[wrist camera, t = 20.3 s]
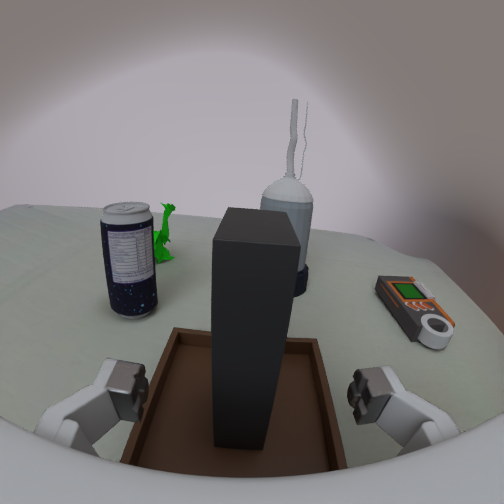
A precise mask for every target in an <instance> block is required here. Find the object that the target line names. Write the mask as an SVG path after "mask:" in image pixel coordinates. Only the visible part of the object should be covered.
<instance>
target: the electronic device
mask: <svg viewBox="0 0 504 504" xmlns="http://www.w3.org/2000/svg"><path fill="white" fill-rule="evenodd" d="M375 290H376V291H377V293H378V294H379V295H380V297H381V298H382V299H383V301H384V302H385V304H386V305H387V307H388V308H389V309H390V311H391V312H392V314H393V315H394V317H395V318H396V320H397V321H398V322H399V324H400V325H401V327H402V328H403V330H404V331H405V333H406V334H407V336H408V337H409V339H410V340H411V341H420V342H422V343H423V344H424V345H426V346H428V347H430V348H433V349H443V348H445V347H446V346H447V344H448V342H449V340H450V339H451V337H452V335H453V332H454V329H453V328H454V326H455V323H454V322H453V321H452V320H451V318H450V317H449V316H448V315H447V314H446V313H445V312H444V310H443V309H442V308H441V307H440V306H439V305H438V304H437V303H436V302H435V296H434V295H433V294H432V293H431V292H430V291H429V290H428V289H427V288H426V287H425V286H424V285H423V284H422V283H421V282H420V281H416V280H415V279H414V278H413V277H399V276H378V279H377V283H376V286H375Z"/></svg>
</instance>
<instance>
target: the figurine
mask: <svg viewBox="0 0 504 504" xmlns="http://www.w3.org/2000/svg"><path fill="white" fill-rule="evenodd" d="M162 205H163V206H164V207H165V211H164V216H163V224H162V230H160V231H154V255H155V257H156V258H157V259H158V262H157V263H161V262H162V260H163V259H164V260H171V259H173V258H175V257H172V256H170V254H169V250H168V249H166V248H165V247H163V243H164V245H165V244H166V242H167V240H168V241H169V242H170V240H169V238H168V237H169V228H168V217H169V216H170V214H171V212H172V211H174V210H175V206H174V205H173V204H172V205H170V204H167V205H165V204H162ZM170 243H171V242H170Z"/></svg>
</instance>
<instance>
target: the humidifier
mask: <svg viewBox="0 0 504 504" xmlns="http://www.w3.org/2000/svg"><path fill="white" fill-rule="evenodd" d="M307 105H308V102H307ZM307 108H308V106H307ZM297 109H298V100H297V99H293V100H292V112H291V123H290V134H291V139H290V143H289V147H288V151H287V173H285V176H284V178H282V179H280V180H277V181H275V182H273V183H272V184H271V185H269V186H268V187H267V188H266V189H265V191H264V192H263V194H262V195H263V196H262V199H261V207H260V210H270V211H282V212H286V213H287V215H288V217H289V219H290V222H291V224H292V226H293V228H294V231H295V233H296V235H297V238H298V240H299V242H300V245H301V252H300V259H299V266H298V272H297V279H296V285H295V292H294V297H297V296H299V295H301V294H303V293H304V292H305V290H306V286H307V280H308V267H307V265H306V264H305V260H306V254H307V247H308V240H309V233H310V226H311V219H312V211H313V198H312V195H311V193H310V191H309V190H308V189H307V188H306V187H305V185H303V184H302V183H300V182H299V180H300V178H301V175H300V178H299V179H298V180H297V179H296V178H295V174H294V151H295V147H296V143H297ZM306 112H307V111H306ZM306 118H307V114H306ZM305 128H306V123H305ZM304 138H305V129H304ZM305 142H306V139H305ZM305 149H306V145H305ZM305 149H304V152H305ZM303 158H304V153H303ZM302 167H303V159H302ZM301 174H302V168H301Z"/></svg>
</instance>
